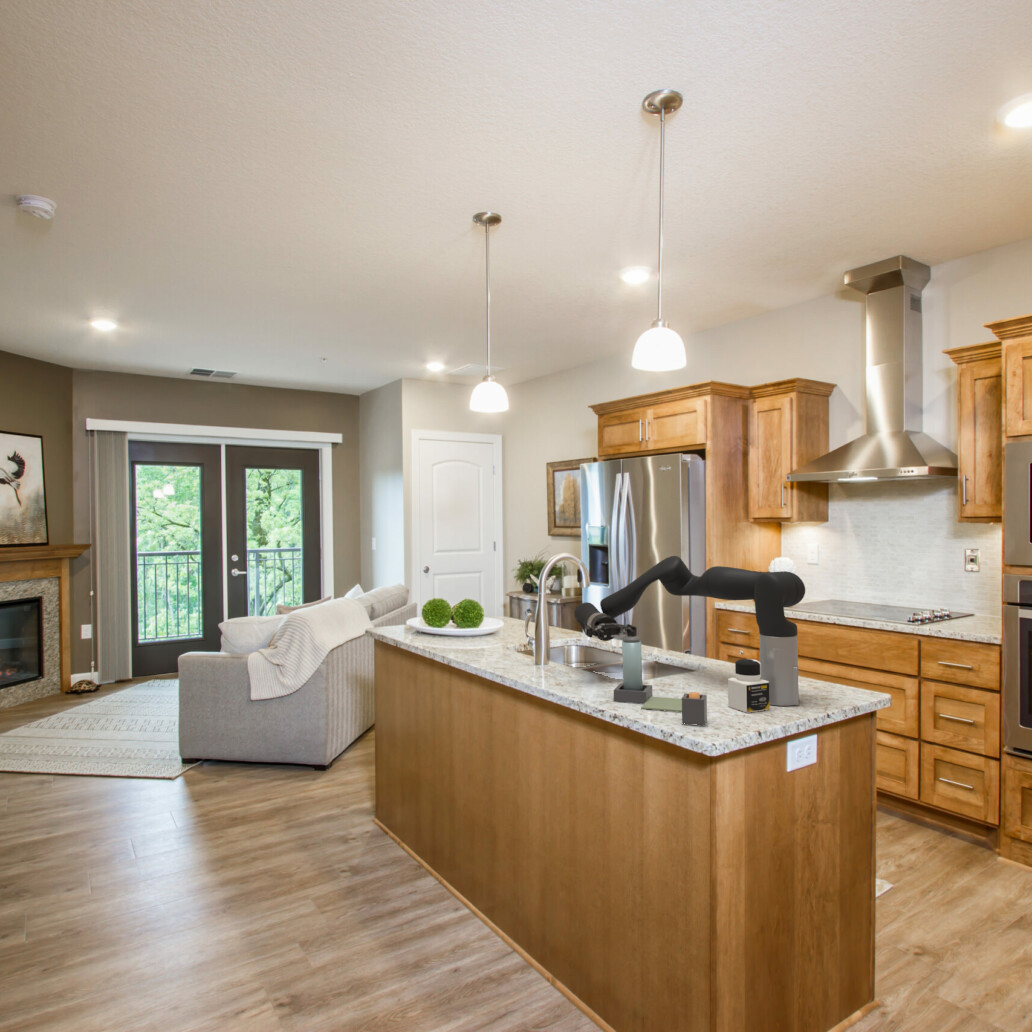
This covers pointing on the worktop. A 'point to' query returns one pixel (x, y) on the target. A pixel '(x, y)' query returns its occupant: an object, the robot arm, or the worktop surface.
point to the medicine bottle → (748, 687)
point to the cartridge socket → (632, 694)
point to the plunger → (694, 695)
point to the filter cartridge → (632, 664)
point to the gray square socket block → (694, 710)
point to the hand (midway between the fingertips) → (617, 634)
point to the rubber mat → (663, 704)
